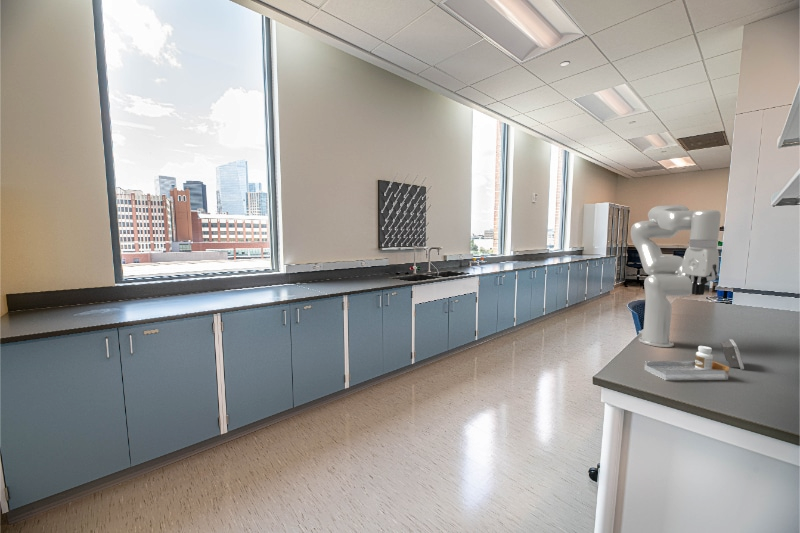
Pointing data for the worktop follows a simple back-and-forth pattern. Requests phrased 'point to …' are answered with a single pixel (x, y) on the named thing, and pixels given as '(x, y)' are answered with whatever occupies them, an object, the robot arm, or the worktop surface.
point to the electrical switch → (732, 354)
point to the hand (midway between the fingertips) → (697, 294)
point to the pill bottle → (704, 358)
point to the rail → (686, 370)
